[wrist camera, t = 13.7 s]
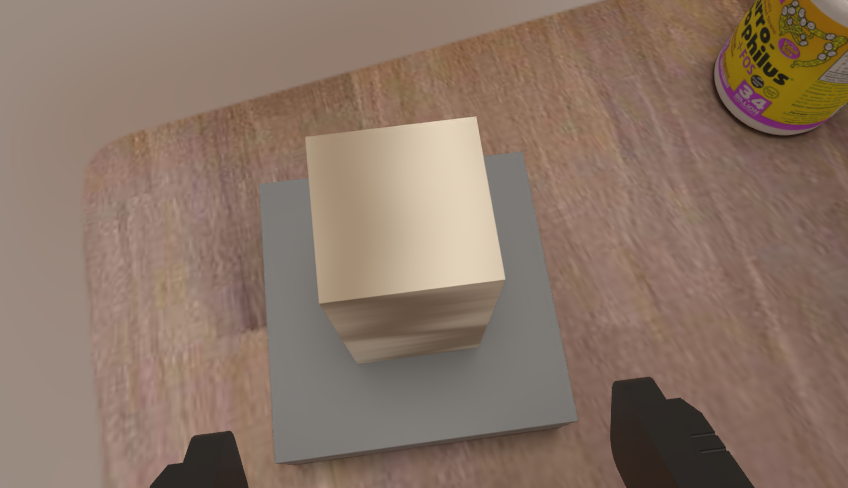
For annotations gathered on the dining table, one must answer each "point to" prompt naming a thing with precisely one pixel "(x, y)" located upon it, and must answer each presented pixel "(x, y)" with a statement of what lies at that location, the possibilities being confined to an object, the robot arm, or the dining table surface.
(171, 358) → the dining table surface
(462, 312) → the cream block
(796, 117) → the supplement bottle
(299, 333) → the plinth
